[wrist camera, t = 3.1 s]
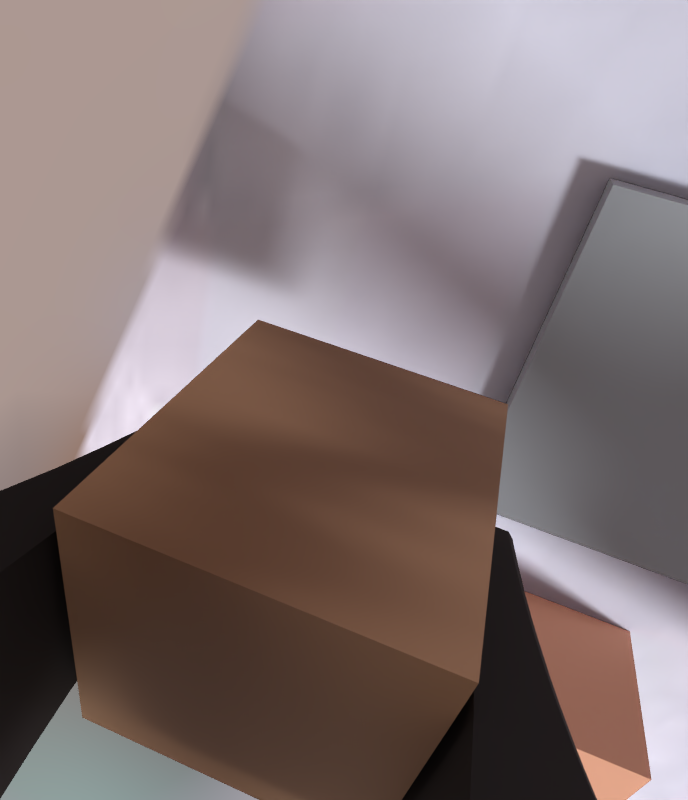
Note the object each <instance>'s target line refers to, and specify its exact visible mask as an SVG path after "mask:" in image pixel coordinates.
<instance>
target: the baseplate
mask: <svg viewBox="0 0 688 800" xmlns="http://www.w3.org/2000/svg"><path fill="white" fill-rule="evenodd" d="M506 404H508V410H507V420H506V429H505V439H504V448H503V458H502V467H501V477H500V486H499V496H498V505H497V514H498V515H500V516H503V517H506V518H509V519H511V520H514V521H517V522H519V523H522V524H525V525H528V526H530V527H533V528H536V529H538V530H541V531H544V532H547V533H549V534H552V535H555V536H557V537H560V538H563V539H566V540H568V541H571V542H574V543H577V544H579V545H582V546H585V547H587V548H590V549H593V550H596V551H598V552H601V553H604V554H606V555H609V556H612V557H615V558H617V559H620V560H623V561H625V562H628V563H631V564H634V565H636V566H639V567H642V568H645V569H647V570H650V571H653V572H655V573H658V574H661V575H664V576H666V577H669V578H672V579H674V580H677V581H680V582H683V583H685V584H688V200H687V199H684V198H680V197H676V196H673V195H669V194H665V193H662V192H658V191H655V190H651V189H647V188H644V187H640V186H636V185H633V184H629V183H626V182H622V181H618V180H615V179H611V178H610V179H609V181H608V183H607V186H606V188H605V190H604V192H603V194H602V196H601V199H600V201H599V203H598V205H597V207H596V209H595V212H594V214H593V216H592V218H591V220H590V222H589V225H588V227H587V229H586V231H585V233H584V236H583V238H582V240H581V242H580V244H579V246H578V249H577V251H576V253H575V255H574V257H573V259H572V262H571V264H570V266H569V268H568V270H567V273H566V275H565V277H564V279H563V281H562V283H561V286H560V288H559V290H558V292H557V294H556V296H555V299H554V301H553V303H552V305H551V307H550V310H549V312H548V314H547V316H546V318H545V320H544V323H543V325H542V327H541V329H540V331H539V333H538V336H537V338H536V340H535V342H534V344H533V346H532V349H531V351H530V353H529V355H528V357H527V360H526V362H525V364H524V366H523V368H522V370H521V373H520V375H519V377H518V379H517V381H516V383H515V386H514V388H513V390H512V392H511V394H510V397H509V399H508V401H507V403H506Z"/></svg>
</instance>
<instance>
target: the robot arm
mask: <svg viewBox="0 0 688 800" xmlns="http://www.w3.org/2000/svg"><path fill="white" fill-rule="evenodd" d="M134 433H135V432H133V433H131V434H129V435H127V436H125V437H123V438H121V439H119V440H117V441H114V442H112V443H110V444H108V445H106V446H104V447H102V448H100V449H97V450H95V451H93V452H91V453H89V454H86V455H84V456H82V457H80V458H77V459H75V460H73V461H71V462H69V463H66V464H64V465H62V466H60V467H58V468H55V469H53V470H51V471H48V472H46V473H43V474H40V475H38V476H36V477H34V478H31V479H28V480H26V481H23V482H21V483H18V484H17V485H14V486H11V487H9V488H7V489H4V490H1V491H0V798H1V796H2V795H3V793H4V792H5V790H6V789H7V787H8V785H9V784H10V782H11V781H12V779H13V778H14V776H15V774H16V773H17V771H18V770H19V768H20V767H21V765H22V763H23V762H24V760H25V759H26V757H27V755H28V754H29V752H30V751H31V749H32V748H33V746H34V744H35V743H36V742H37V740H38V739H39V737H40V735H41V734H42V732H43V731H44V729H45V728H46V726H47V725H48V723H49V722H50V720H51V719H52V717H53V716H54V714H55V713H56V711H57V710H58V708H59V706H60V705H61V704H62V702H63V701H64V699H65V698H66V696H67V695H68V693H69V691H70V690H71V689H72V687H73V686H74V684H75V683H76V681H77V675H76V668H75V661H74V654H73V647H72V640H71V633H70V626H69V618H68V611H67V604H66V597H65V590H64V583H63V576H62V569H61V562H60V555H59V548H58V541H57V534H56V527H55V520H54V513H53V508H54V507H55V506H56V505H57V504H58V503H59V502H60V501H61V500H62V499H64V498H65V497H66V496H67V495H68V494H69V493H70V492H71V491H72V490H73V489H74V488H76V487H77V486H78V485H79V484H80V483H81V482H82V481H83V480H84V479H85V478H86V477H88V476H89V475H90V474H91V473H92V472H93V471H94V470H95V469H96V468H97V467H98V466H99V465H101V464H102V463H103V462H104V461H105V460H106V459H107V458H108V457H109V456H110V455H111V454H113V453H114V452H115V451H116V450H117V449H118V448H119V447H120V446H121V445H122V444H123V443H125V442H126V441H127V440H128V439H129V438H130V437H131V436H132V435H133V434H134ZM402 800H597V798H596V796H595V793H594V791H593V789H592V786H591V784H590V781H589V779H588V777H587V774H586V772H585V769H584V767H583V764H582V762H581V759H580V757H579V754H578V752H577V749H576V747H575V744H574V741H573V739H572V736H571V733H570V731H569V728H568V725H567V723H566V720H565V717H564V715H563V712H562V709H561V707H560V704H559V701H558V698H557V695H556V692H555V689H554V687H553V684H552V681H551V678H550V675H549V672H548V668H547V665H546V662H545V659H544V656H543V653H542V650H541V646H540V643H539V640H538V637H537V634H536V631H535V627H534V624H533V620H532V617H531V613H530V610H529V606H528V602H527V599H526V595H525V591H524V587H523V584H522V580H521V576H520V571H519V567H518V563H517V559H516V554H515V549H514V545H513V540H512V538H511V536H510V534H509V532H508V531H505V530H502V529H500V528H497V527H495V534H494V543H493V553H492V562H491V572H490V581H489V591H488V600H487V610H486V619H485V629H484V638H483V648H482V657H481V667H480V676H479V684H478V685H477V687H476V688H475V690H474V691H473V693H472V694H471V696H470V697H469V699H468V700H467V702H466V703H465V705H464V706H463V708H462V709H461V711H460V712H459V714H458V715H457V717H456V718H455V720H454V722H453V723H452V725H451V726H450V728H449V729H448V731H447V732H446V734H445V735H444V737H443V738H442V740H441V741H440V743H439V744H438V746H437V747H436V749H435V750H434V752H433V753H432V755H431V756H430V758H429V759H428V761H427V762H426V764H425V765H424V767H423V768H422V770H421V771H420V773H419V774H418V776H417V777H416V779H415V780H414V782H413V783H412V785H411V786H410V788H409V790H408V791H407V793H406V794H405V796H404V797H403V799H402Z"/></svg>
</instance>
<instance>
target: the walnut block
mask: <svg viewBox="0 0 688 800" xmlns="http://www.w3.org/2000/svg"><path fill="white" fill-rule="evenodd" d="M507 410H508V404H506V403H503V402H500V401H497V400H494V399H491V398H488V397H485V396H482V395H479V394H476V393H473V392H470V391H467V390H464V389H461V388H458V387H455V386H452V385H449V384H446V383H444V382H441V381H438V380H435V379H432V378H429V377H426V376H423V375H420V374H417V373H414V372H411V371H408V370H405V369H402V368H399V367H396V366H393V365H390V364H387V363H384V362H382V361H379V360H376V359H373V358H370V357H367V356H364V355H361V354H358V353H355V352H352V351H349V350H346V349H343V348H340V347H337V346H334V345H331V344H328V343H325V342H322V341H319V340H317V339H314V338H311V337H308V336H305V335H302V334H299V333H296V332H293V331H290V330H287V329H284V328H281V327H278V326H275V325H272V324H269V323H266V322H263V321H260V320H257V321H256V322H255V323H254V324H253V325H252V326H251V327H250V328H249V329H248V330H246V331H245V332H244V333H243V334H242V335H241V336H240V337H239V338H238V339H237V340H236V341H234V342H233V343H232V344H231V345H230V346H229V347H228V348H227V349H226V350H225V351H224V352H222V353H221V354H220V355H219V356H218V357H217V358H216V359H215V360H214V361H213V362H212V363H211V364H209V365H208V366H207V367H206V368H205V369H204V370H203V371H202V372H201V373H200V374H199V375H197V376H196V377H195V378H194V379H193V380H192V381H191V382H190V383H189V384H188V385H187V386H185V387H184V388H183V389H182V390H181V391H180V392H179V393H178V394H177V395H176V396H175V397H173V398H172V399H171V400H170V401H169V402H168V403H167V404H166V405H165V406H164V407H163V408H162V409H160V410H159V411H158V412H157V413H156V414H155V415H154V416H153V417H152V418H151V419H150V420H148V421H147V422H146V423H145V424H144V425H143V426H142V427H141V428H140V429H139V430H138V431H136V432H135V433H134V434H133V435H132V436H131V437H130V438H129V439H128V440H127V441H126V442H125V443H123V444H122V445H121V446H120V447H119V448H118V449H117V450H116V451H115V452H114V453H113V454H111V455H110V456H109V457H108V458H107V459H106V460H105V461H104V462H103V463H102V464H101V465H99V466H98V467H97V468H96V469H95V470H94V471H93V472H92V473H91V474H90V475H89V476H88V477H86V478H85V479H84V480H83V481H82V482H81V483H80V484H79V485H78V486H77V487H76V488H74V489H73V490H72V491H71V492H70V493H69V494H68V495H67V496H66V497H65V498H64V499H62V500H61V501H60V502H59V503H58V504H57V505H56V506H55V507H54V508H53V513H54V520H55V527H56V534H57V541H58V548H59V555H60V562H61V569H62V576H63V583H64V590H65V597H66V604H67V611H68V618H69V626H70V633H71V640H72V647H73V654H74V661H75V668H76V675H77V682H78V689H79V696H80V703H81V710H82V717H83V718H85V719H87V720H89V721H91V722H93V723H96V724H98V725H100V726H102V727H104V728H106V729H108V730H111V731H113V732H115V733H117V734H119V735H121V736H124V737H126V738H128V739H130V740H132V741H134V742H136V743H139V744H141V745H143V746H145V747H147V748H149V749H152V750H154V751H156V752H158V753H160V754H162V755H164V756H167V757H169V758H171V759H173V760H175V761H177V762H179V763H181V764H184V765H186V766H188V767H190V768H192V769H194V770H197V771H199V772H201V773H203V774H205V775H207V776H209V777H211V778H214V779H216V780H218V781H220V782H222V783H224V784H227V785H229V786H231V787H233V788H235V789H237V790H240V791H242V792H244V793H246V794H248V795H250V796H252V797H254V798H257V799H259V800H402V799H403V797H404V796H405V794H406V793H407V791H408V790H409V788H410V786H411V785H412V783H413V782H414V780H415V779H416V777H417V776H418V774H419V773H420V771H421V770H422V768H423V767H424V765H425V764H426V762H427V761H428V759H429V758H430V756H431V755H432V753H433V752H434V750H435V749H436V747H437V746H438V744H439V743H440V741H441V740H442V738H443V737H444V735H445V734H446V732H447V731H448V729H449V728H450V726H451V725H452V723H453V722H454V720H455V718H456V717H457V715H458V714H459V712H460V711H461V709H462V708H463V706H464V705H465V703H466V702H467V700H468V699H469V697H470V696H471V694H472V693H473V691H474V690H475V688H476V687H477V685H478V684H479V676H480V667H481V657H482V648H483V638H484V629H485V619H486V610H487V600H488V591H489V581H490V572H491V562H492V553H493V543H494V534H495V524H496V515H497V505H498V496H499V486H500V477H501V467H502V458H503V448H504V439H505V429H506V420H507Z"/></svg>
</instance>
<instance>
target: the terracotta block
mask: <svg viewBox="0 0 688 800" xmlns="http://www.w3.org/2000/svg"><path fill="white" fill-rule="evenodd" d="M525 595H526V599H527V602H528V606H529V610H530V613H531V617H532V620H533V624H534V627H535V631H536V634H537V637H538V640H539V643H540V646H541V650H542V653H543V656H544V659H545V662H546V665H547V668H548V672H549V675H550V678H551V681H552V684H553V687H554V689H555V692H556V695H557V698H558V701H559V704H560V707H561V709H562V712H563V715H564V717H565V720H566V723H567V725H568V728H569V731H570V733H571V736H572V739H573V741H574V744H575V747H576V749H577V752H578V754H579V757H580V759H581V762H582V764H583V767H584V769H585V772H586V774H587V777H588V779H589V781H590V784H591V786H592V789H593V791H594V793H595V796H596V798H597V800H626V799H628V798H629V797H630V796H631V795H633V794H634V793H635V792H637V791H638V790H639V789H640V788H642V787H643V786H644V785H645V784H647V783H648V782H649V781H650V780H651V774H650V767H649V760H648V754H647V747H646V740H645V733H644V726H643V719H642V712H641V706H640V699H639V692H638V685H637V678H636V671H635V664H634V658H633V651H632V644H631V637H630V631H627V630H624V629H622V628H619V627H617V626H614V625H611V624H609V623H606V622H604V621H601V620H598V619H596V618H593V617H591V616H588V615H585V614H583V613H580V612H578V611H575V610H572V609H570V608H567V607H565V606H562V605H559V604H557V603H554V602H552V601H549V600H546V599H544V598H541V597H539V596H536V595H533V594H531V593H528V592H526V591H525Z"/></svg>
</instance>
